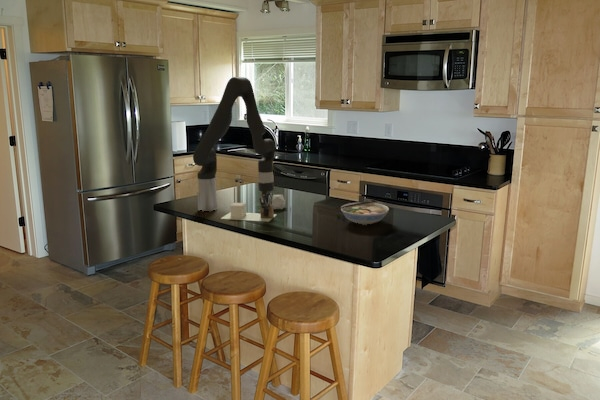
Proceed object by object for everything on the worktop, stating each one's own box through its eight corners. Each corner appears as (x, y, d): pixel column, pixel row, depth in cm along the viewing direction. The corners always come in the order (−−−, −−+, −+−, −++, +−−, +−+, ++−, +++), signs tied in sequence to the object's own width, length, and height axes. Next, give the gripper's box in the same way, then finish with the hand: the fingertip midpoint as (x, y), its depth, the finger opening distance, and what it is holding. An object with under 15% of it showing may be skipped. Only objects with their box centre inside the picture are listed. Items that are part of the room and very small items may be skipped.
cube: (230, 217, 257) (230, 205, 256) (235, 214, 263) (234, 202, 261) (242, 217, 255) (241, 206, 254) (246, 214, 261) (245, 203, 260)
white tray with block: (220, 219, 255) (219, 206, 253) (230, 212, 267) (230, 200, 265) (268, 222, 248) (268, 209, 247) (277, 215, 261) (276, 202, 259)
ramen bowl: (358, 233, 230) (358, 215, 228) (328, 221, 249) (328, 205, 247) (400, 224, 243) (401, 207, 241) (369, 213, 262) (369, 198, 260)
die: (279, 213, 268) (289, 197, 269) (265, 205, 268) (275, 189, 269) (280, 215, 276) (289, 199, 277) (266, 207, 276) (275, 191, 277)
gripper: (263, 177, 258) (264, 211, 262) (253, 183, 245) (255, 218, 249) (277, 178, 256) (278, 212, 260) (268, 183, 243) (269, 219, 247)
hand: (267, 215), depth 255 cm, fingers closed on white tray with block, 2 cm apart
